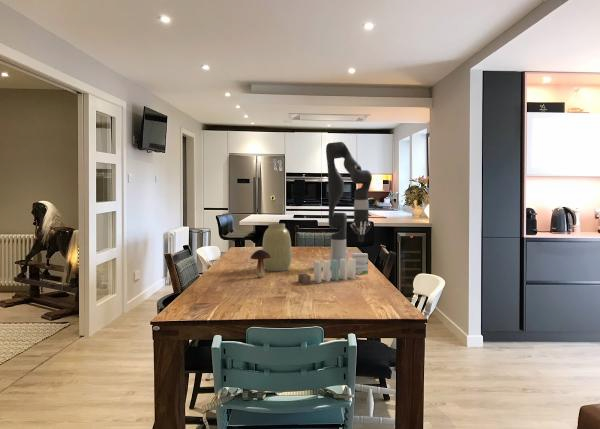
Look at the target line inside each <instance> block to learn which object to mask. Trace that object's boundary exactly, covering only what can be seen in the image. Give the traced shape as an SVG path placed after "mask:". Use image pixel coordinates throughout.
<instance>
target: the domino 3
mask: <svg viewBox="0 0 600 429" xmlns="http://www.w3.org/2000/svg"><path fill="white" fill-rule="evenodd" d="M339 277H340V269H339V261H338V260H331V259H330V278H331V279H333V280H335V281H338V280H339Z"/></svg>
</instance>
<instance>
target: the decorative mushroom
mask: <svg viewBox="0 0 600 429" xmlns="http://www.w3.org/2000/svg"><path fill="white" fill-rule="evenodd" d="M266 258H271V257H270V255H269V254H268V253H267V252H265V251H263V250H262V249H258V250H256V251H254V252H253V253H252V254H251V256H250V259H251V260H257V264H256V276H257V277H258V278H260V279H261V278H264V276H265V270H266V269H265V267H264V262H263V259H266Z"/></svg>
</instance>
